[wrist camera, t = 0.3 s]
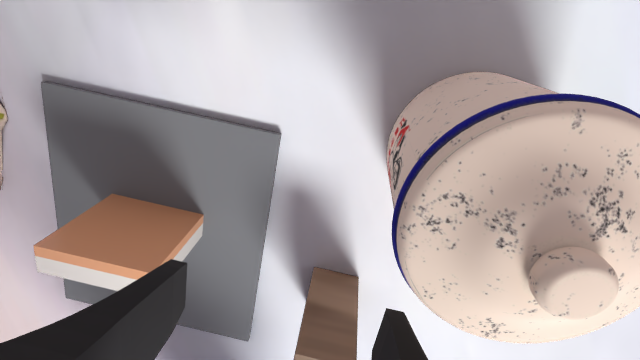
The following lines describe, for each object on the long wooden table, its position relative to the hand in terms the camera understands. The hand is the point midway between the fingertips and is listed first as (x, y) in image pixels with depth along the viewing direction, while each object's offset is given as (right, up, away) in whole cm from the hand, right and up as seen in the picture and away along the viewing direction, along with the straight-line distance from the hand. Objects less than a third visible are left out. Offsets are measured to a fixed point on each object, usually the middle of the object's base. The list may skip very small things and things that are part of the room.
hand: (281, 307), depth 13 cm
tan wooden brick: (+2, -3, +12) cm, 12 cm away
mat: (-9, +1, +11) cm, 15 cm away
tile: (-9, +2, +10) cm, 14 cm away
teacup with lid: (+10, +5, +8) cm, 13 cm away
